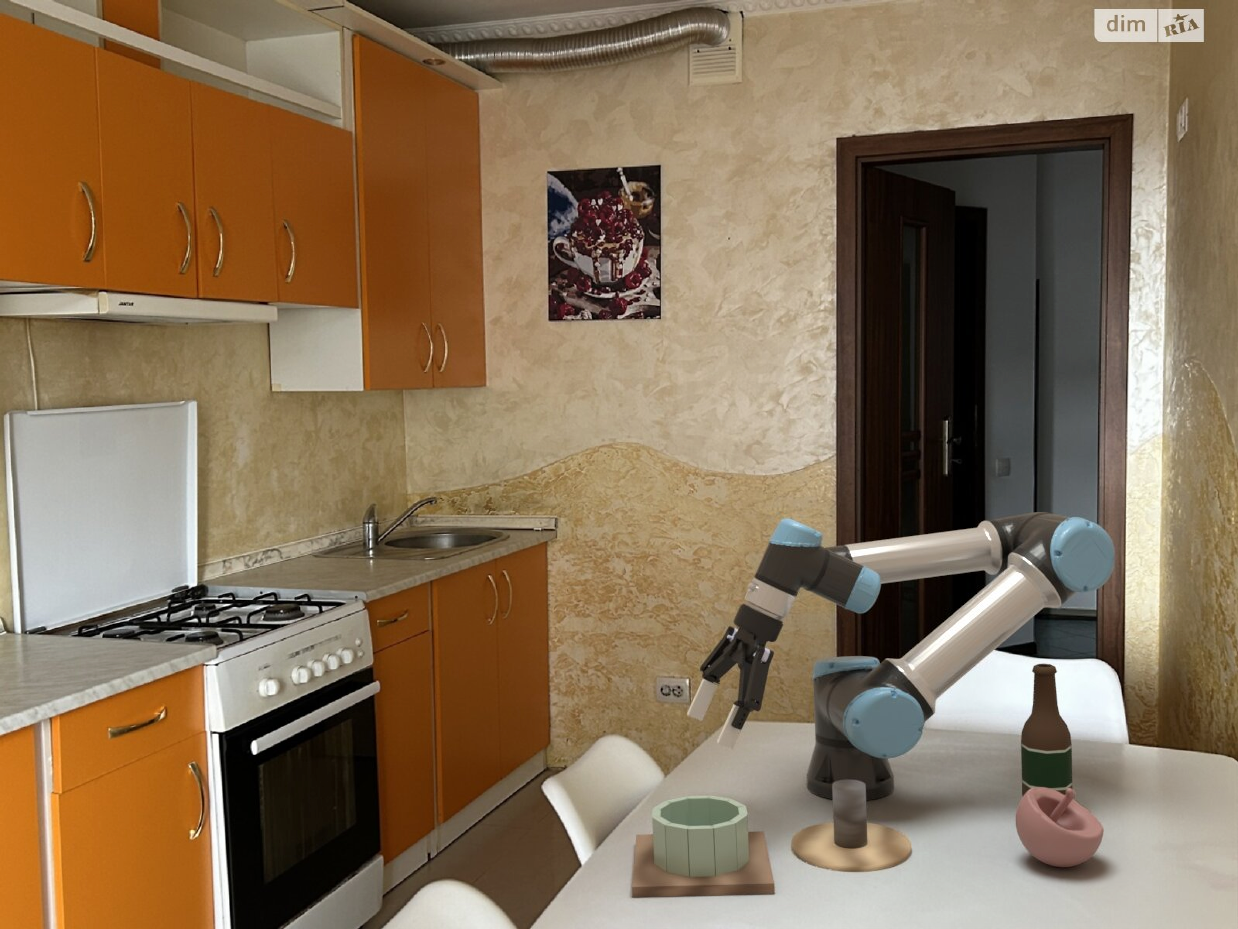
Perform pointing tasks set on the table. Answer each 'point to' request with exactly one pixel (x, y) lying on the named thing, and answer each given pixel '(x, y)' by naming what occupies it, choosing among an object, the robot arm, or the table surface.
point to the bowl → (700, 836)
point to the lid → (851, 836)
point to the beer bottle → (1046, 738)
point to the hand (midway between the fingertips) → (708, 731)
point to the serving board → (740, 882)
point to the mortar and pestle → (1057, 827)
